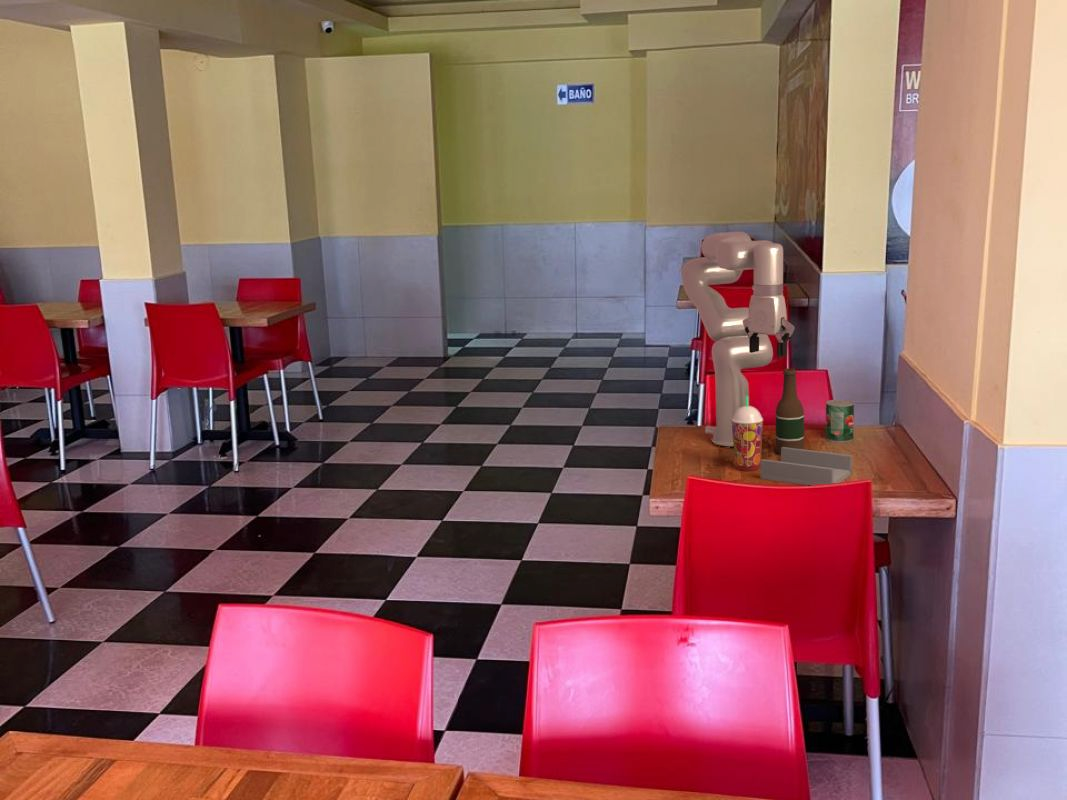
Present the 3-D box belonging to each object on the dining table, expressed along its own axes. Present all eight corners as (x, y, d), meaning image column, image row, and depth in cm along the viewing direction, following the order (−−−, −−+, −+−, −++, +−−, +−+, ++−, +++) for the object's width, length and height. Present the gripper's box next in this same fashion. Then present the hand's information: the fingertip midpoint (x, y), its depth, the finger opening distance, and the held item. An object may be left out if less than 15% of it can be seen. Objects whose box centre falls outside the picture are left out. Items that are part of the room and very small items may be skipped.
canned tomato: (857, 441, 293) (857, 404, 290) (829, 443, 293) (830, 406, 290) (848, 434, 300) (849, 398, 298) (822, 436, 301) (822, 400, 298)
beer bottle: (805, 449, 288) (805, 366, 282) (802, 457, 280) (803, 372, 275) (777, 448, 290) (776, 366, 285) (774, 455, 283) (773, 372, 278)
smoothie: (729, 464, 277) (728, 393, 273) (760, 463, 277) (759, 392, 273) (734, 473, 269) (733, 400, 265) (766, 471, 269) (765, 398, 264)
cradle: (760, 478, 263) (760, 460, 262) (782, 464, 274) (782, 446, 273) (831, 488, 252) (831, 469, 251) (851, 473, 263) (852, 455, 262)
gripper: (734, 289, 271) (734, 352, 275) (783, 295, 257) (783, 360, 261) (753, 286, 275) (753, 348, 279) (803, 291, 261) (802, 356, 265)
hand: (767, 354), depth 270 cm, fingers open, 9 cm apart
